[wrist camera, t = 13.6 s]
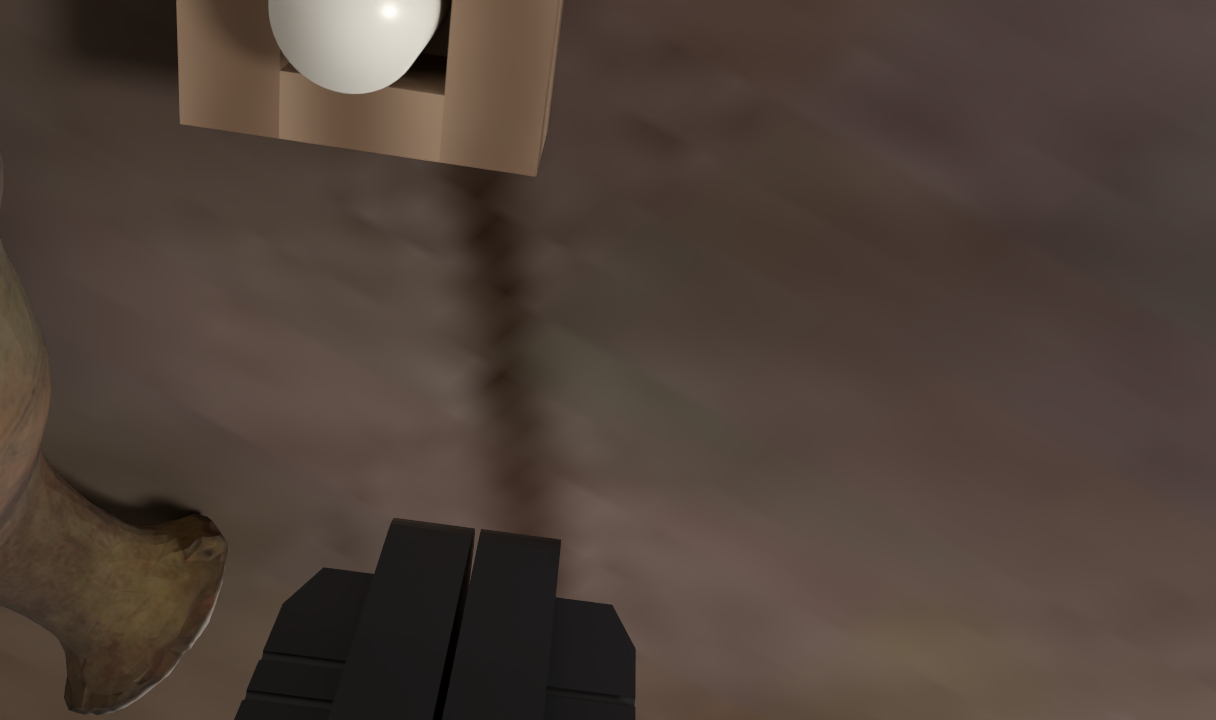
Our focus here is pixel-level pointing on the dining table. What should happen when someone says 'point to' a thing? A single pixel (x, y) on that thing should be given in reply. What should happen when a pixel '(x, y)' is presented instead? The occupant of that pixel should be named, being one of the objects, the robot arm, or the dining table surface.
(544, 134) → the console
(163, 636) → the jug
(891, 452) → the dining table surface
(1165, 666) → the dining table surface
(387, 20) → the white egg
